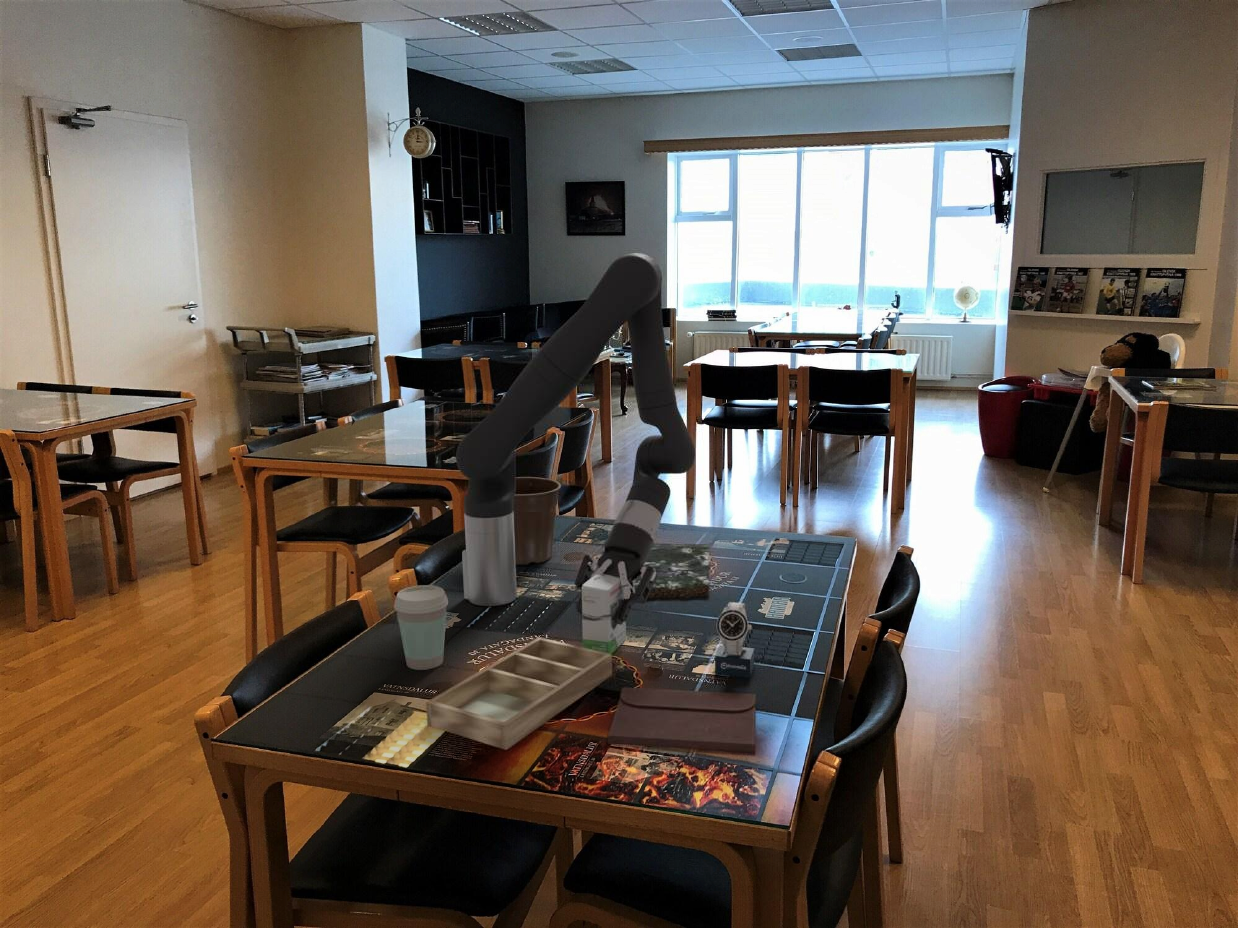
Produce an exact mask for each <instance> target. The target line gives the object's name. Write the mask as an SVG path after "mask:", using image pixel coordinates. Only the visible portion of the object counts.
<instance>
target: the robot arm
mask: <svg viewBox="0 0 1238 928" xmlns="http://www.w3.org/2000/svg"><path fill="white" fill-rule="evenodd" d="M662 282H663V274H662V271H661V269H660V266H659V264H658V263H657V262H656V261H655V259H654V258H653V257H651V256H649V255H647V254H644V253H641V252H631V253H626V254H623V255H621V256H619V257H617V258H616V259H615V260H613V262H611V264H610V265H609V267H608V268H607V269H606V271H605V272H604V275H602V278H601V279H600V280H599V282H598V283H597V285H596V286H595V288H594V289H593V291H592V292H591V293H590V295H589V296H588V297H587V299H586V300H585V302H584V303H583V305H582V306H581V307H580V308H579V309H578V310H577V312H575V313H574V314H573V315H572V316H571V317H570V318H569V319H568V320H567V321H565V323H564V324H563V325H562V326H561V327H560V328H558V330H556V331H555V332H554V334H552V336H550V338H549V339H548V340H547V341H546V342H545V343H544V344H543V345H542V347H540V349H539V350H538V351H537V352H536V353H535V354H534V356H533V357H532V358H531V359H530V361H529V362H528V364H527V365H526V366H525V367H524V368H523V370H521V372H520V373H519V375H518V376H517V378H516V379H515V380H514V382H513V383H512V384H511V386H510V387H509V389H508V390H507V391H506V393H505V394H504V395H503V397H502V398H501V400H499V403H498V404H497V405H496V406H495V408H493V410H491V412H490V413H489V414H488V415H487V416H486V417H484V418H483V420H481V421H480V423H479V424H477V425H476V426H475V427H474V428H473V429H472V430H470V432H469V433H467V434H466V435H465V436H464V437H462V439H461V440H460V442H459V444H458V446H457V449H456V453H455V462H456V466H457V468H458V471H459V472H460V473H461V475H462V476H464V477H465V478H467V479H468V486H467V491H466V494H465V497H464V499H463V513H464V514H463V515H464V534H465V536H464V537H465V549H464V550H462V552H461V554H462V555H461V556H462V557H461V561H462V575H463V576H462V580H463V596H464V597H463V598H464V599H465V600H468V601H469V603H470V604H472V605H473V604H474V605H476V606H483V607H495V606H503V605H507V604H509V603H512V602H514V601H515V600H516V599H517V597H518V596H517V567H516V566H517V565H516V561H515V535H514V509H513V502H514V497H515V492H516V477H517V475H516V474H517V472H516V471H517V470H516V469H517V468H516V466H517V465H516V464H517V462H516V460H517V459H516V448H517V446H518V444H520V442H521V441H522V440H523V438H524V437H525V436H527V434H528V433H529V432H530V431H531V430H532V429H533V428H534V427H536V425H538V424H539V423H540V422H541V421H543V420H544V419H545V418H547V416H548V415H550V414H551V413H552V412H553V411H554V410H556V409H557V408H558V407H559V406H560V405H561V404H562V403H563V401H565V400H566V398H568V397H569V396H570V394H571V393H573V391H574V390H575V389H576V387H578V386H579V384H580V383H581V382H582V381H583V380H584V378H585V377H587V374H588V373H589V372H590V370H592V368H593V366H594V365H595V363H596V362H597V360H598V359H599V357H600V356H601V354H602V352H603V350H604V349H605V347H606V346H607V344H608V342H609V341H610V340H611V338H612V337H613V336H614V335H615V334H616V332H617V331H618V330H619V329H620V328H622V327H623V325H624V324H625V323H626V324H627V328H628V332H629V334H628V335H629V342H630V351H631V369H632V370H631V371H632V381H633V388H634V393H635V400H636V405H637V410H638V411H637V412H638V415H639V418H640V421H641V422H642V423H644V424H645V425H649V426H653V427H655V428H657V430H658V431H659V433H660V434H661V435H660V434H657V435H654V434H653V435H649V436H647V437H646V438H644V439H643V440H642V441H641V442H640V444H639V445H638V447H637V449H636V454H635V461H634V462H635V463H634V469H633V470H634V471H633V479H632V485H631V487H630V489H629V492H628V494H627V496H626V499H625V501H624V503H623V506H622V507H621V508H620V510H619V512H618V514H617V516H616V519H615V521H614V523H613V526H612V528H611V531H610V532H609V535H608V538H607V541H606V542H605V545H604V549H605V550H604V549H603V550H604V553H603V555H602V556H601V557H600V558H599V559H597V557H595V558H594V557H591V556H590V555H588V554H586V555H584V556H583V559H582V561H581V564H580V567H579V569H578V573H577V575H576V578H575V581H574V585H575V587H577V589H579V591H580V592H581V594H580V596H579V598H578V601H577V603H576V605H575V609H576V612H577V614H578V615H579V616H580V617H582V587H583V584H584V583H586V582H587V581H588V580H590V578H592V577H594V576H595V575H596V574H598V575H603V574H606V575H610V576H614V577H618V578H620V581H621V586H622V590H623V597H624V599H621V601H620V603H619V606H618V608H617V610H616V613H615V615H614V621H615V622H616V623H617V624H620V625H622V623H623V622H625V621H627V620H628V617H629V614H630V612H631V610H632V607H633V606H634V605H636V604H640V605H644V604H645V603H646V602H647V601H648V599H649V598H648V596H649V594H650V592H651V590H652V587H653V585H654V583H655V581H656V579H657V577H658V574H657V573H656V571H655V570H654V569H653V568H652V567H651V566H649V567H647V568H646V567H644V563H645V562H646V560H647V558H648V555H649V552H650V550H651V547H652V545H653V544H654V542H655V540H656V538H657V535H658V532H659V529H660V526H661V521H662V518H663V515H664V513H665V511H666V509H667V506H668V503H669V501H670V497H671V488H670V486H669V485H668V483H667V482H665V481H664V480H663V479H661V478H659V476H660V475H661V474H662V475H670V474H671V475H674V474H675V475H677V474H679V475H680V474H685V473H687V472H689V471H690V470H691V469H692V467H693V465H694V463H695V460H696V459H695V457H696V450H695V449H696V448H695V445H694V441H693V439H692V436H691V433H690V432H689V430H688V428H687V425H686V423H685V421H684V418H683V416H682V414H681V412H680V410H679V407H678V402H677V396H676V392H675V391H676V390H675V384H674V379H673V374H672V369H671V365H670V359H669V354H668V349H667V344H666V339H665V338H666V337H665V332H664V324H663V321H664V320H663V312H662V311H663V310H662V308H663V307H662V304H663V303H662V285H663V284H662ZM597 566H598V567H599V569H598V570H597V571H596V572H595V573H594V574H593V575H592V572H593V571H595V570H596V567H597ZM641 574H642V575H641ZM591 575H592V576H591ZM640 575H641V577H642V579H641V581H640V583H639V585H638V587H637V589H636V591H635V588H634V580H635V579H636V578H638V577H639V576H640Z"/></svg>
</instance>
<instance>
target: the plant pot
mask: <svg viewBox="0 0 1238 928" xmlns="http://www.w3.org/2000/svg"><path fill="white" fill-rule="evenodd" d="M561 488H562V484H561V483H560V482H558V481H557V480H553V479H550V478H544V477H535V476H533V477H532V476H519V477H517V476H516V492H515V497H514V502H513V509H514V535H515V561H516V566H519V565H520V566H523V565H524V566H525V565H529V564H531V563H535V564H541V563H543V562H546V561H548V560H550V559H551V558H552V557H553V549H554V546H553V545H554V536H555V534H554V533H555V522H556V508H557V505H558V501H559V491H560V490H561Z"/></svg>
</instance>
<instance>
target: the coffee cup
mask: <svg viewBox="0 0 1238 928" xmlns="http://www.w3.org/2000/svg"><path fill="white" fill-rule="evenodd" d="M448 604H449V600H448V597H447V595H446V592H445V589H443V588H442V587H440V586H437V585H429V584H427V585H426V584H425V585H424V584H423V585H422V584H420V585H414V586H413V585H412V586H409V587H405V588H403V589H401V590H399V591H398V592H397V594H396V598H395V600H394V605H393V608H394V609H395V611H396V615H397V619H398V625H399V631H400V636H401V641H402V647H403V652H404V657H405V662H406V666H407V667H408V668H409V669H412V670H416V671H426V670H431V669H435V668H438V667H439V666H441V665H442V664H443V662H444V653H445V652H444V650H445V636H446V635H445V633H446V620H447V619H446V618H447V606H448Z"/></svg>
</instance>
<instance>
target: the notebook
mask: <svg viewBox="0 0 1238 928" xmlns="http://www.w3.org/2000/svg"><path fill="white" fill-rule="evenodd" d="M756 698H757V694H754V693H740V692H739V693H737V692H719V691H701V690H698V691H697V690H683V689H682V690H680V689H664V688H660V689H659V688H644V687H643V688H642V687H641V688H639V687H626V686H625V687H622V689H621V691H620V694H619V699H618V702H617V706H616V710H615V711H614V716H613V719H612V722H611V725H610V729H609V730H608V731H609V732H608V735H607V745H619V746H620V745H623V746H636V747H637V746H638V747H639V746H640V747H655V748H670V749H671V748H672V749H689V750H706V751H721V752H724V751H725V752H738V753H739V752H741V753H754V754H755V753H756V711H757V710H756V708H757V707H756V706H757V704H756V703H757V701H756V700H757V699H756Z"/></svg>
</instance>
